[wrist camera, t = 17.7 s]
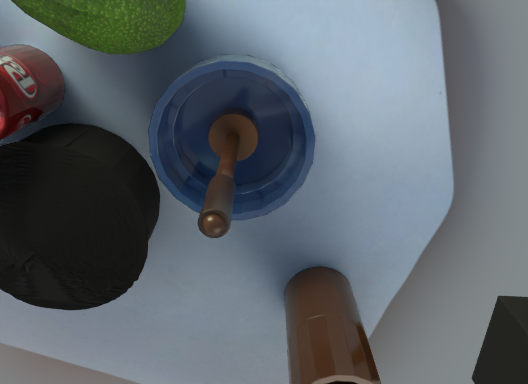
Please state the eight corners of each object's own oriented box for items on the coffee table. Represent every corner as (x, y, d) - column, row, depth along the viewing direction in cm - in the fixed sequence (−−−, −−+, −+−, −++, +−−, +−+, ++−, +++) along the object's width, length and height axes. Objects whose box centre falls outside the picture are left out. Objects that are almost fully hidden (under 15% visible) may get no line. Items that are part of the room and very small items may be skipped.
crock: (356, 268, 54) (394, 376, 38) (347, 323, 57) (378, 444, 42) (286, 265, 54) (296, 373, 38) (281, 321, 57) (288, 441, 41)
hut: (10, 256, 53) (-79, 345, 39) (-7, 109, 46) (-122, 155, 32) (162, 274, 54) (127, 366, 40) (169, 132, 47) (129, 186, 33)
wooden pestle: (259, 109, 45) (256, 193, 25) (257, 155, 47) (252, 267, 27) (211, 106, 45) (169, 189, 25) (210, 152, 47) (171, 263, 27)
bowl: (315, 58, 44) (322, 65, 38) (301, 199, 50) (306, 223, 44) (159, 49, 43) (144, 56, 38) (165, 192, 50) (153, 216, 44)
